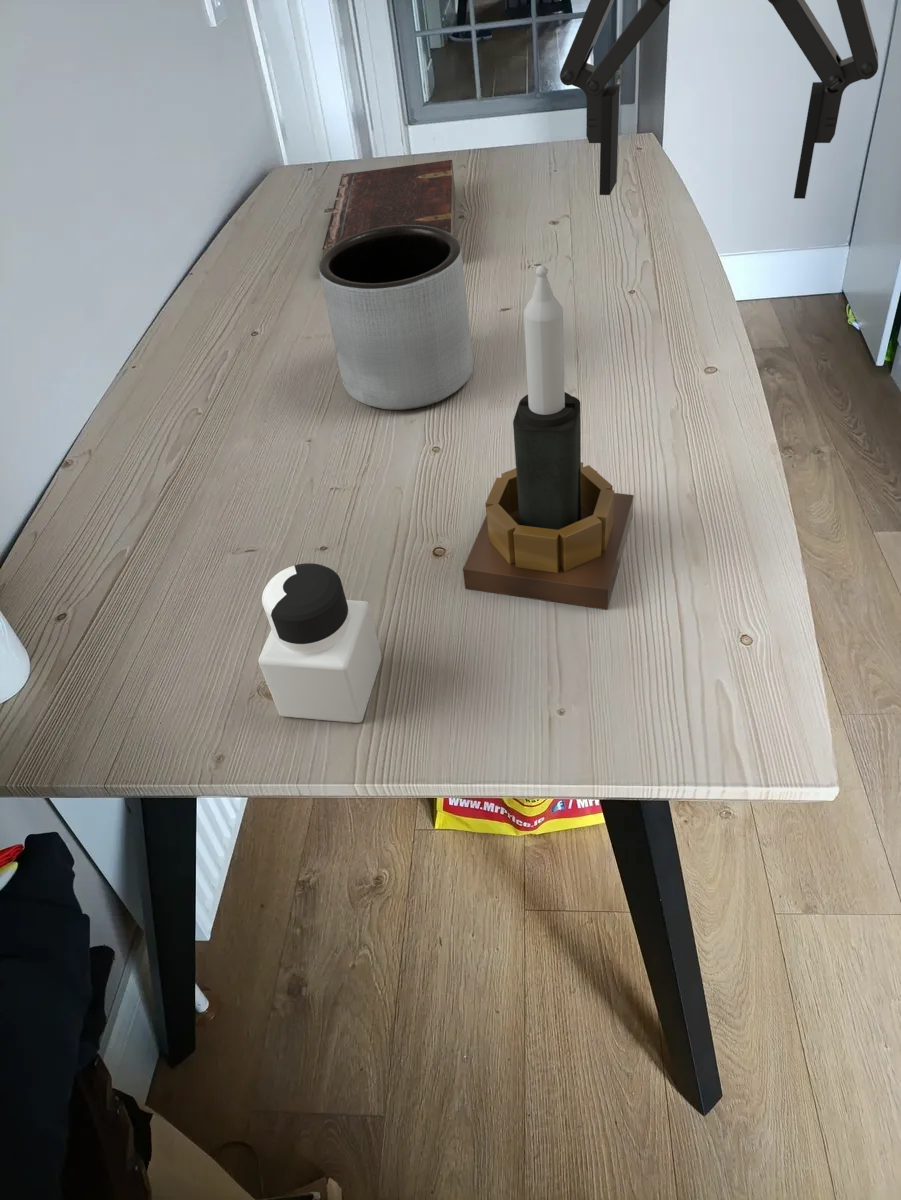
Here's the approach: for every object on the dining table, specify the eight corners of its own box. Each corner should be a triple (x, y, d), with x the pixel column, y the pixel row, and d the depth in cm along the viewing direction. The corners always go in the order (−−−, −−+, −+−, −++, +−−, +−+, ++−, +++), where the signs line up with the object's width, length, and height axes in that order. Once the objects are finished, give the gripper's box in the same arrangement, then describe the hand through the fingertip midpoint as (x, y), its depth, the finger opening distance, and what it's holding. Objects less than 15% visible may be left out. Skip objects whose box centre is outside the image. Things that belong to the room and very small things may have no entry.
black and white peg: (575, 550, 78) (572, 282, 61) (518, 546, 79) (500, 282, 62) (582, 514, 82) (581, 249, 64) (528, 510, 83) (513, 250, 65)
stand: (632, 515, 85) (635, 460, 80) (607, 610, 76) (609, 554, 72) (503, 500, 88) (498, 446, 84) (465, 588, 80) (457, 535, 75)
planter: (368, 342, 114) (345, 222, 103) (487, 347, 110) (477, 222, 99) (325, 412, 103) (294, 286, 92) (455, 419, 99) (440, 289, 88)
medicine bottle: (383, 658, 75) (357, 554, 67) (362, 725, 70) (332, 622, 62) (304, 652, 76) (269, 550, 68) (278, 718, 72) (238, 616, 63)
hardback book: (345, 202, 149) (339, 172, 146) (455, 191, 148) (452, 159, 144) (327, 279, 129) (320, 245, 125) (454, 266, 127) (450, 232, 124)
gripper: (982, -235, 48) (887, 173, 63) (539, -185, 55) (546, 170, 70) (995, -229, 43) (888, 213, 58) (506, -175, 50) (521, 205, 65)
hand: (701, 190), depth 64 cm, fingers open, 13 cm apart
